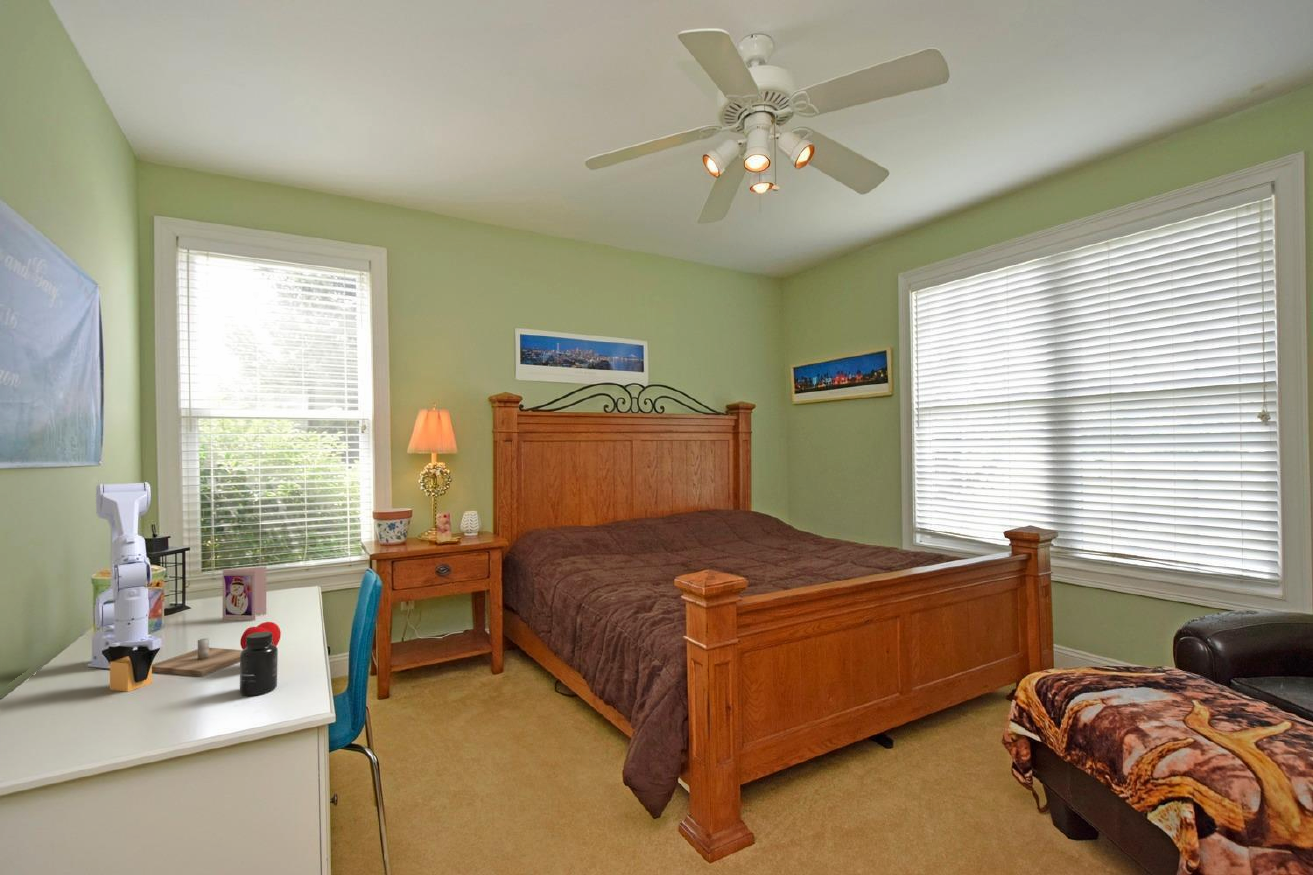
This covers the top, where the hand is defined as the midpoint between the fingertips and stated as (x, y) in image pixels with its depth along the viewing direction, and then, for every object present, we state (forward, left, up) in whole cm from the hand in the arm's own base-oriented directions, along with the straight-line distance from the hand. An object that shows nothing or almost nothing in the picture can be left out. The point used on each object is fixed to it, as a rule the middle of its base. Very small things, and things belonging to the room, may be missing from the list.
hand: (131, 679), depth 135 cm
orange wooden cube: (0, 0, -1) cm, 1 cm away
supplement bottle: (+30, +4, -2) cm, 30 cm away
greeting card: (-24, +51, -2) cm, 56 cm away
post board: (+2, +15, -1) cm, 15 cm away
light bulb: (+18, +16, -2) cm, 24 cm away
